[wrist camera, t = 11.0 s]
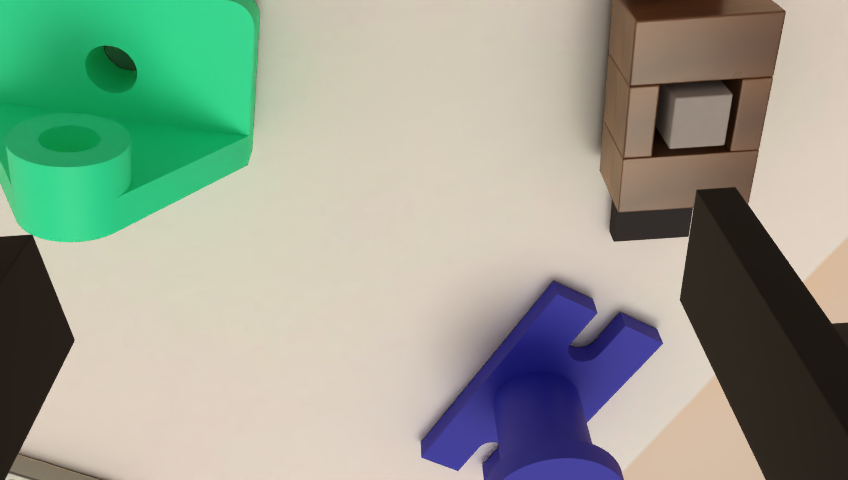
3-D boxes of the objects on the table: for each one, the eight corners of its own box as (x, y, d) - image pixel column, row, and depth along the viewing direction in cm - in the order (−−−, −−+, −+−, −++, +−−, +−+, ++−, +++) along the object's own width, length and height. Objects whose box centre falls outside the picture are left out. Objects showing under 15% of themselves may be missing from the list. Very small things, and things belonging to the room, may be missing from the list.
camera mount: (264, -14, 35) (223, 76, 27) (255, 139, 40) (217, 259, 31) (-21, -59, 34) (-160, 22, 25) (1, 105, 38) (-112, 222, 30)
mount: (516, 478, 54) (535, 597, 47) (420, 442, 52) (425, 562, 45) (657, 329, 47) (704, 443, 40) (553, 280, 45) (584, 391, 38)
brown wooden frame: (612, -10, 35) (635, 21, 32) (749, -19, 35) (786, 10, 32) (599, 170, 40) (618, 213, 37) (719, 162, 40) (748, 204, 37)
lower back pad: (639, -129, 33) (678, -102, 29) (735, -136, 33) (789, -110, 29) (609, 231, 43) (634, 294, 39) (683, 226, 43) (717, 288, 39)
